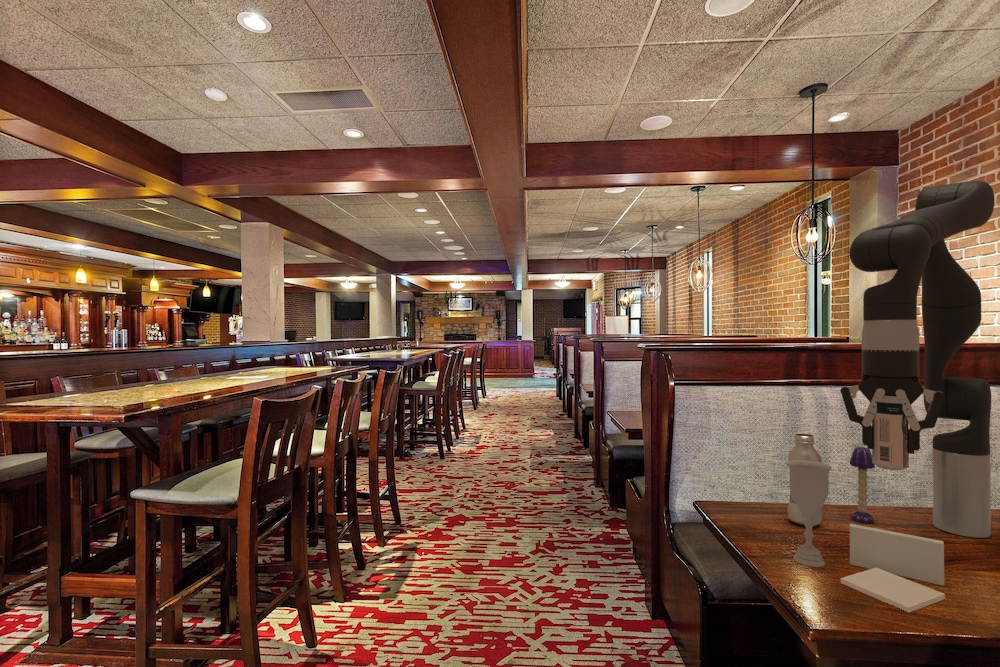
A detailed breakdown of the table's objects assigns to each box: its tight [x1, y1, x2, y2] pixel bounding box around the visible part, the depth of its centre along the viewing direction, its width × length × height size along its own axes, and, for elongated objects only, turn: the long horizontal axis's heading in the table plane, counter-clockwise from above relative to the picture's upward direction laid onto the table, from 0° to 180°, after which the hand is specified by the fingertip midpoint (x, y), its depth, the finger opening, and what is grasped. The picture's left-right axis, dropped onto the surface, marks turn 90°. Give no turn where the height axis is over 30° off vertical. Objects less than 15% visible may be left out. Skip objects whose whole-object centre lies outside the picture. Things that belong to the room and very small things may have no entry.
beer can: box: [871, 396, 910, 471], centre depth 82 cm, size 5×5×12 cm
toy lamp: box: [849, 446, 876, 525], centre depth 113 cm, size 5×5×17 cm
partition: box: [849, 523, 945, 587], centre depth 88 cm, size 13×2×7 cm, turn 52°
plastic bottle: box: [787, 433, 823, 527], centre depth 111 cm, size 6×7×20 cm
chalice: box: [786, 460, 833, 568], centre depth 93 cm, size 7×7×18 cm
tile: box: [840, 568, 946, 614], centre depth 82 cm, size 10×10×1 cm
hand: (890, 450), depth 82 cm, fingers closed on beer can, 4 cm apart
